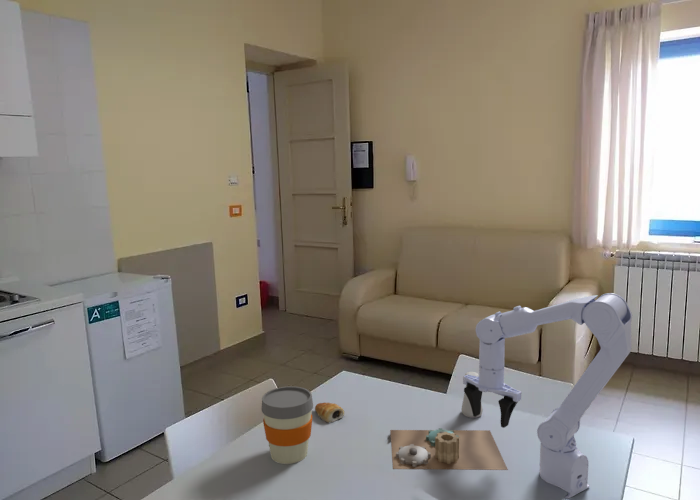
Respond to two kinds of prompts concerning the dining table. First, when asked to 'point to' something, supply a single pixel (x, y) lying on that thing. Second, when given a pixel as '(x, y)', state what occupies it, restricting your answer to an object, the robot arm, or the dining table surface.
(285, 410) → the reusable coffee cup
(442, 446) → the wooden gear
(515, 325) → the robot arm
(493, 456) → the gear board
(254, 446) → the dining table surface
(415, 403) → the dining table surface
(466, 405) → the salt shaker
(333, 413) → the pastry
